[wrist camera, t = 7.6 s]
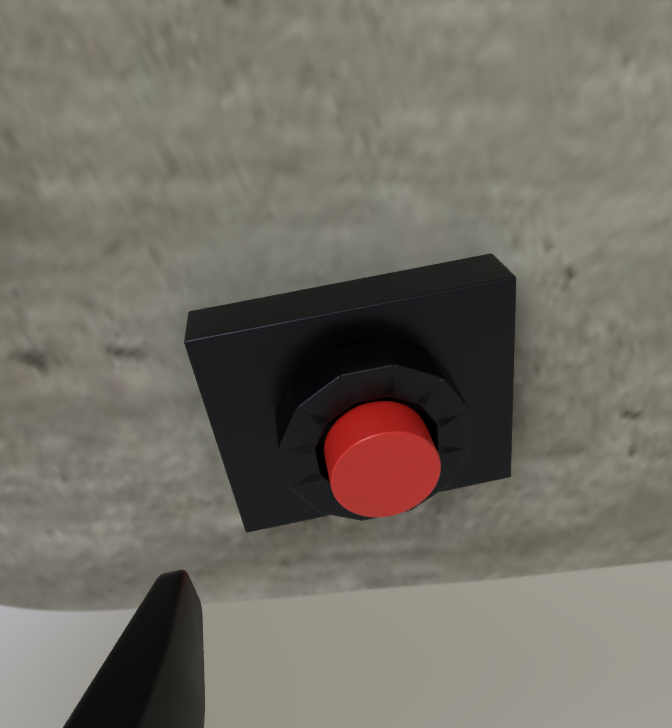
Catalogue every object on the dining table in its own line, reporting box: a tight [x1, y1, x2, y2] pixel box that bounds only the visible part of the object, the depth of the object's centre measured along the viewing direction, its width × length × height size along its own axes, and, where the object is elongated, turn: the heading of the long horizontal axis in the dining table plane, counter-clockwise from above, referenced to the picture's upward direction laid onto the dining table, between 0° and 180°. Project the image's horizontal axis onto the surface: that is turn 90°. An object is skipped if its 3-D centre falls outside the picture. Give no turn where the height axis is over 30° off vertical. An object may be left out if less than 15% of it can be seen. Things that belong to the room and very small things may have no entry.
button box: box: [184, 254, 516, 532], centre depth 22 cm, size 11×9×4 cm
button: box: [324, 401, 441, 517], centre depth 19 cm, size 4×4×2 cm
